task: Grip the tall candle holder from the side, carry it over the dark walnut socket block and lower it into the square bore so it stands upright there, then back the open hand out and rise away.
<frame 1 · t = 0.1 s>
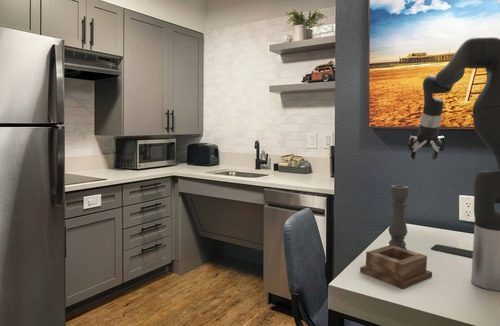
hand: (423, 158, 161), 31 cm above the table, tool tilted 20°, fingers open, 8 cm apart
candle holder: (396, 257, 131), on the table
phone: (454, 253, 136), on the table
socket block: (395, 274, 116), on the table
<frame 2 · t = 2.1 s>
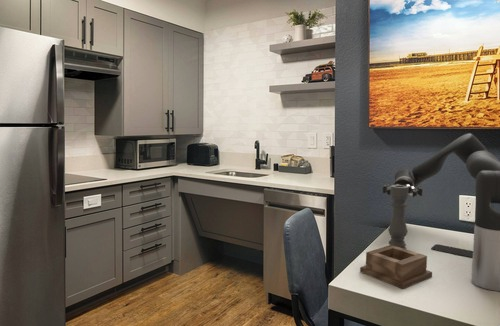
hand: (401, 193, 139), 21 cm above the table, tool horizontal, fingers open, 8 cm apart
nothing on the table moved.
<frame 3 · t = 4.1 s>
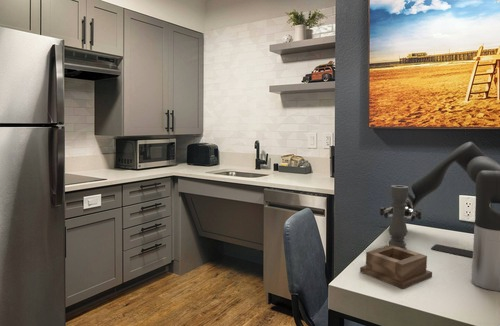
hand: (399, 216, 133), 13 cm above the table, tool horizontal, fingers open, 8 cm apart
nothing on the table moved.
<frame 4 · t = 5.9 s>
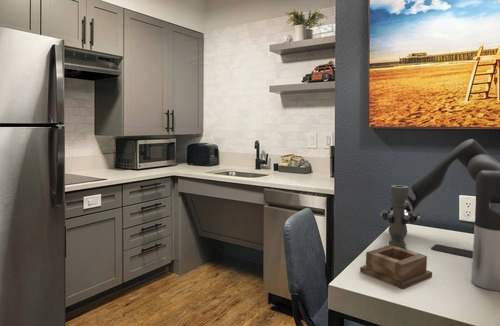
hand: (397, 221, 127), 14 cm above the table, tool horizontal, fingers closed on candle holder, 4 cm apart
candle holder: (396, 257, 131), on the table, touching gripper
everything else where it was.
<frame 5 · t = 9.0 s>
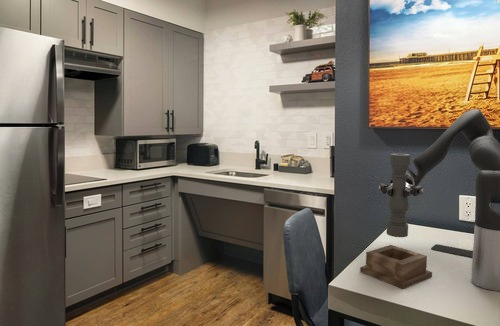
hand: (398, 193, 112), 26 cm above the table, tool horizontal, fingers closed on candle holder, 4 cm apart
candle holder: (397, 234, 116), point 12 cm above the table, touching gripper
everything else where it was.
when the fingers open (16 cm above the table, at t = 12.0 s): candle holder stays where it is, resting on socket block.
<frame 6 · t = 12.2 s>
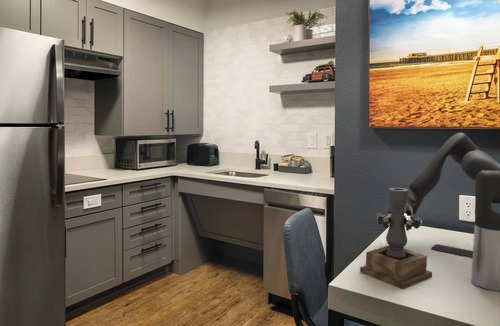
hand: (396, 226, 112), 16 cm above the table, tool horizontal, fingers open, 5 cm apart
candle holder: (395, 269, 116), point 2 cm above the table, touching socket block
everything else where it was.
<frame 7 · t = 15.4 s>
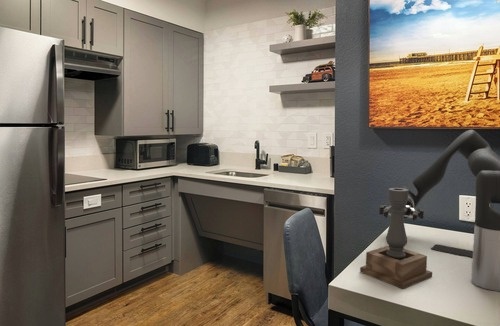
hand: (399, 215, 124), 16 cm above the table, tool horizontal, fingers open, 8 cm apart
nothing on the table moved.
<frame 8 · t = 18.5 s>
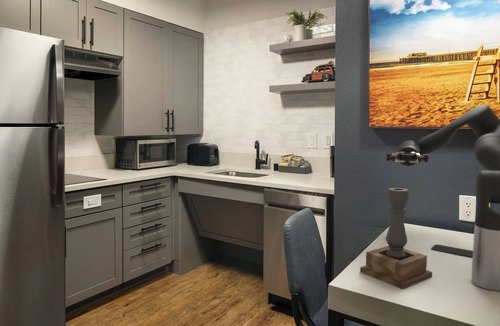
hand: (406, 159, 133), 34 cm above the table, tool horizontal, fingers open, 8 cm apart
nothing on the table moved.
at the end: candle holder 0.2 cm off-centre on the socket block, point 1.5 cm above the socket block's base; candle holder tilted 0°; the gripper is holding nothing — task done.
